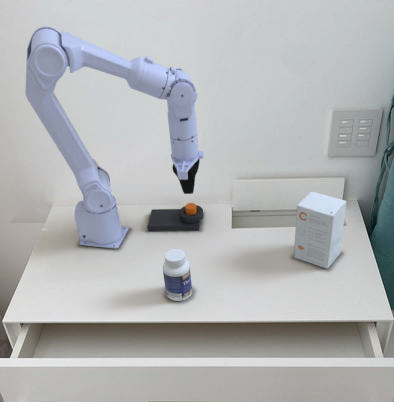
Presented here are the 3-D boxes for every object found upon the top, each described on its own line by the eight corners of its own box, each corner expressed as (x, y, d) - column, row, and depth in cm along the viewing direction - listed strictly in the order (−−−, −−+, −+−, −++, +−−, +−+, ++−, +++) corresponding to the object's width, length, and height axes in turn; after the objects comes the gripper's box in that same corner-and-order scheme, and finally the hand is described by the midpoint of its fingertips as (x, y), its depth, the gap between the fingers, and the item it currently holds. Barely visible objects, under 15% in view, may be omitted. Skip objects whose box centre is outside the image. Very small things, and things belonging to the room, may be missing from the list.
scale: (148, 231, 134) (146, 220, 131) (152, 214, 138) (150, 203, 136) (202, 230, 132) (201, 219, 130) (204, 213, 137) (203, 202, 135)
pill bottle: (189, 303, 115) (185, 264, 108) (163, 300, 116) (157, 262, 109) (194, 285, 119) (191, 247, 112) (169, 283, 120) (164, 245, 113)
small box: (340, 253, 123) (348, 200, 113) (327, 269, 119) (333, 216, 110) (306, 242, 126) (311, 190, 117) (292, 257, 123) (296, 205, 113)
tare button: (185, 215, 132) (184, 209, 131) (186, 209, 134) (185, 202, 133) (196, 215, 132) (195, 208, 131) (197, 209, 134) (196, 202, 132)
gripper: (199, 150, 113) (204, 209, 123) (205, 117, 123) (208, 175, 133) (164, 151, 114) (171, 210, 124) (172, 118, 124) (178, 175, 134)
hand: (188, 192), depth 129 cm, fingers closed
